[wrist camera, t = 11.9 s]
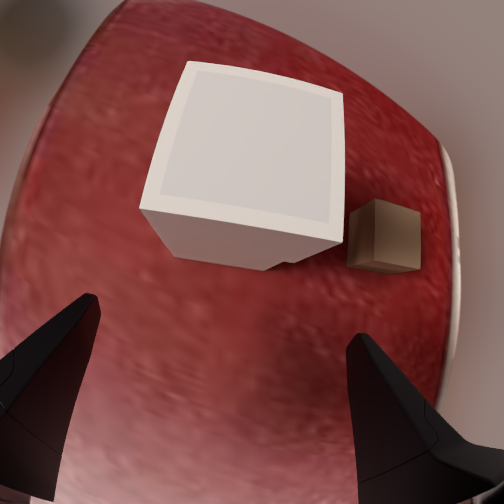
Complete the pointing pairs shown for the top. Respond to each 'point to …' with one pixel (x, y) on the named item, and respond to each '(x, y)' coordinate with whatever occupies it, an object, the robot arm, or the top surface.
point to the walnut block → (384, 238)
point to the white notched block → (248, 169)
